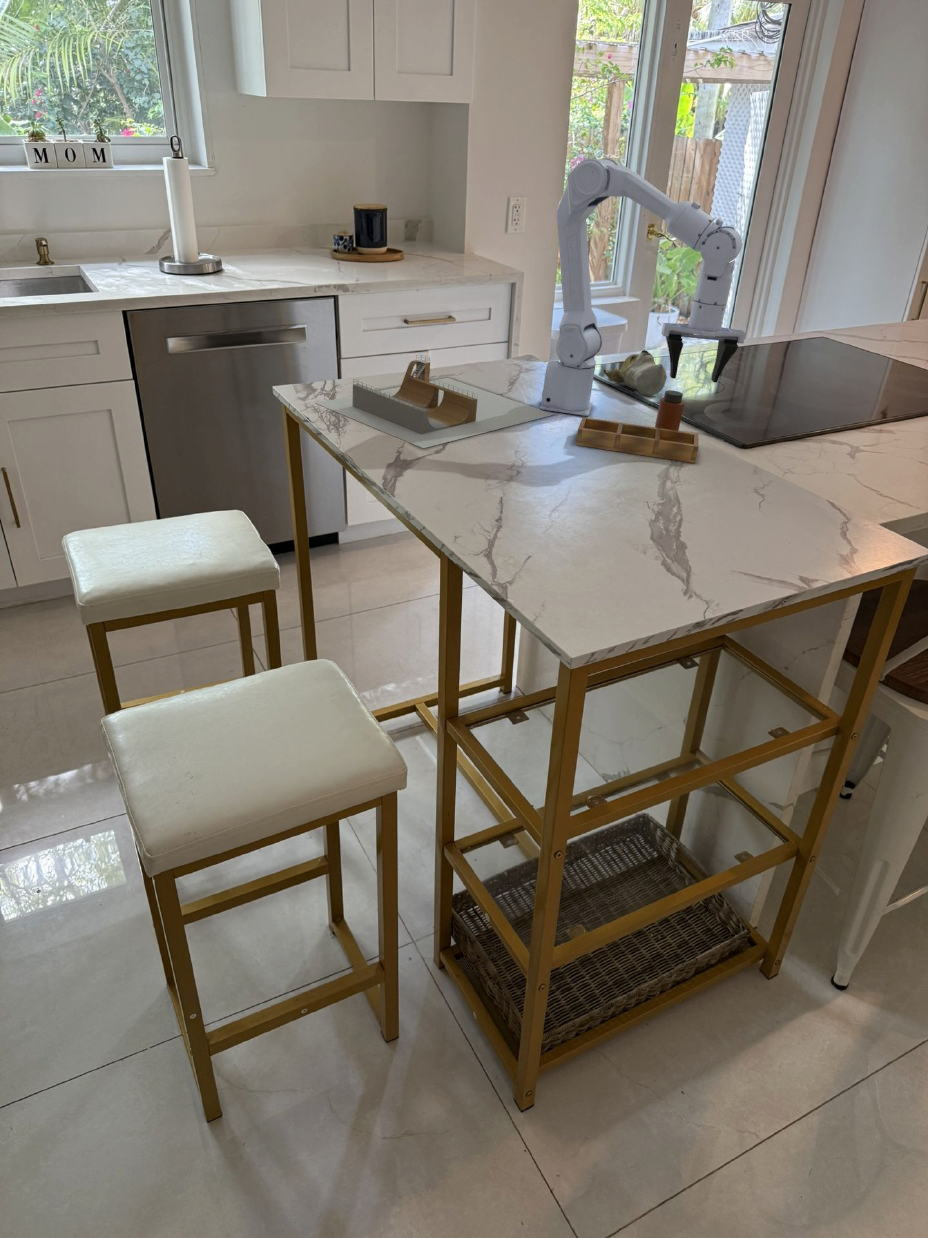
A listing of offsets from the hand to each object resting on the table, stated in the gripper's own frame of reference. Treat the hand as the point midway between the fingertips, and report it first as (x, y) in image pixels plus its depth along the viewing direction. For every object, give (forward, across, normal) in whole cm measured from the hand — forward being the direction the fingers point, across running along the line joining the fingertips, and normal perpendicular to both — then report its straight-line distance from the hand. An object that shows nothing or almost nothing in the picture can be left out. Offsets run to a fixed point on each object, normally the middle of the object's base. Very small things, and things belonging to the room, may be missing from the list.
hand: (693, 378), depth 162 cm
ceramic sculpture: (+10, -5, +29) cm, 31 cm away
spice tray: (+10, -10, -11) cm, 18 cm away
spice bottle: (+10, -4, -2) cm, 11 cm away
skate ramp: (+10, -47, +1) cm, 48 cm away
